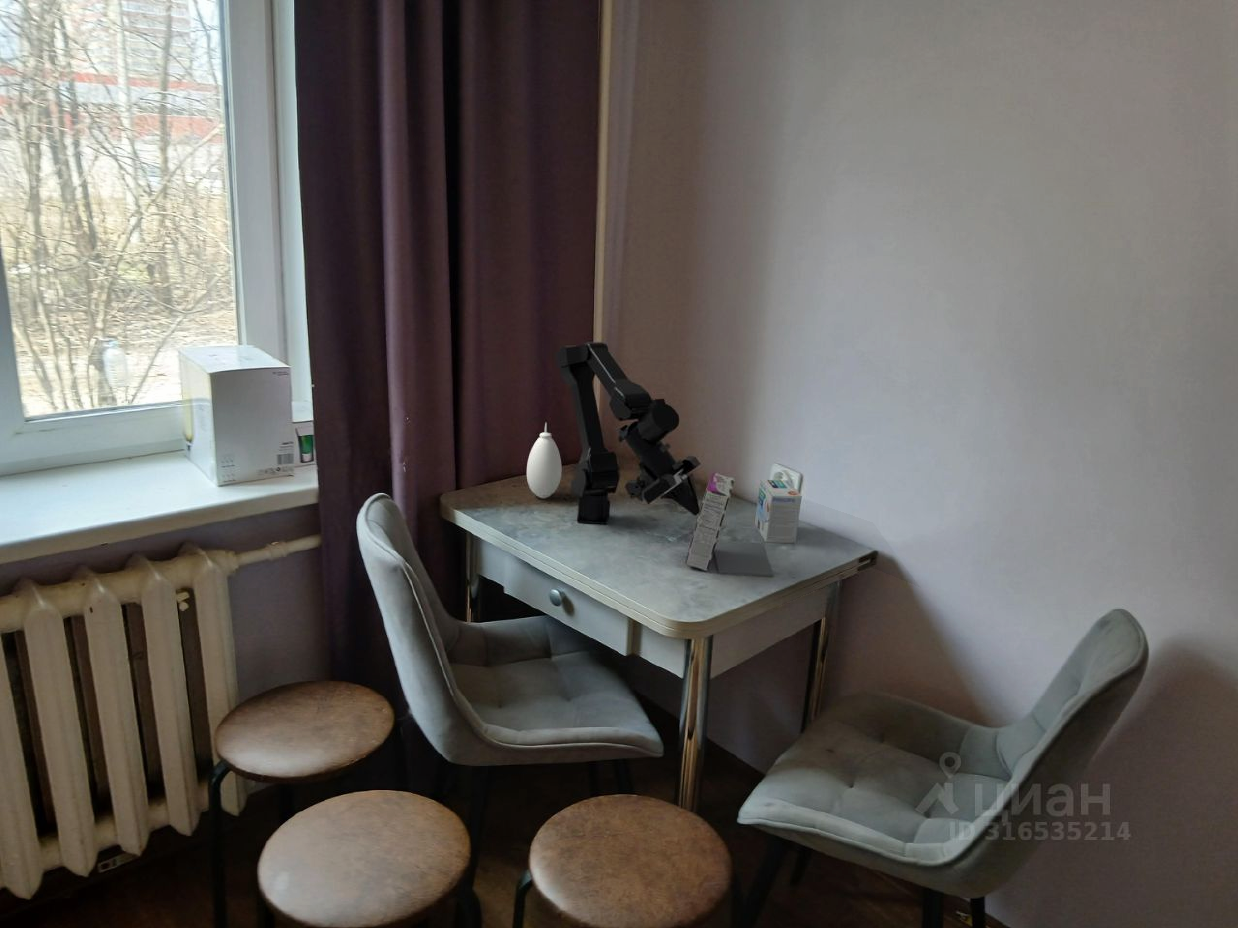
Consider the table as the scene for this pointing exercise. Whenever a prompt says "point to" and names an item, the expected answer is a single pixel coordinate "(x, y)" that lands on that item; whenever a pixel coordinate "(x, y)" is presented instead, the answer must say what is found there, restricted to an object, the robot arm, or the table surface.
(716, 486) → the candy bar box
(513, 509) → the table surface
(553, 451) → the white air blower bulb
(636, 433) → the robot arm
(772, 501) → the light bulb box
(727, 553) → the mat
